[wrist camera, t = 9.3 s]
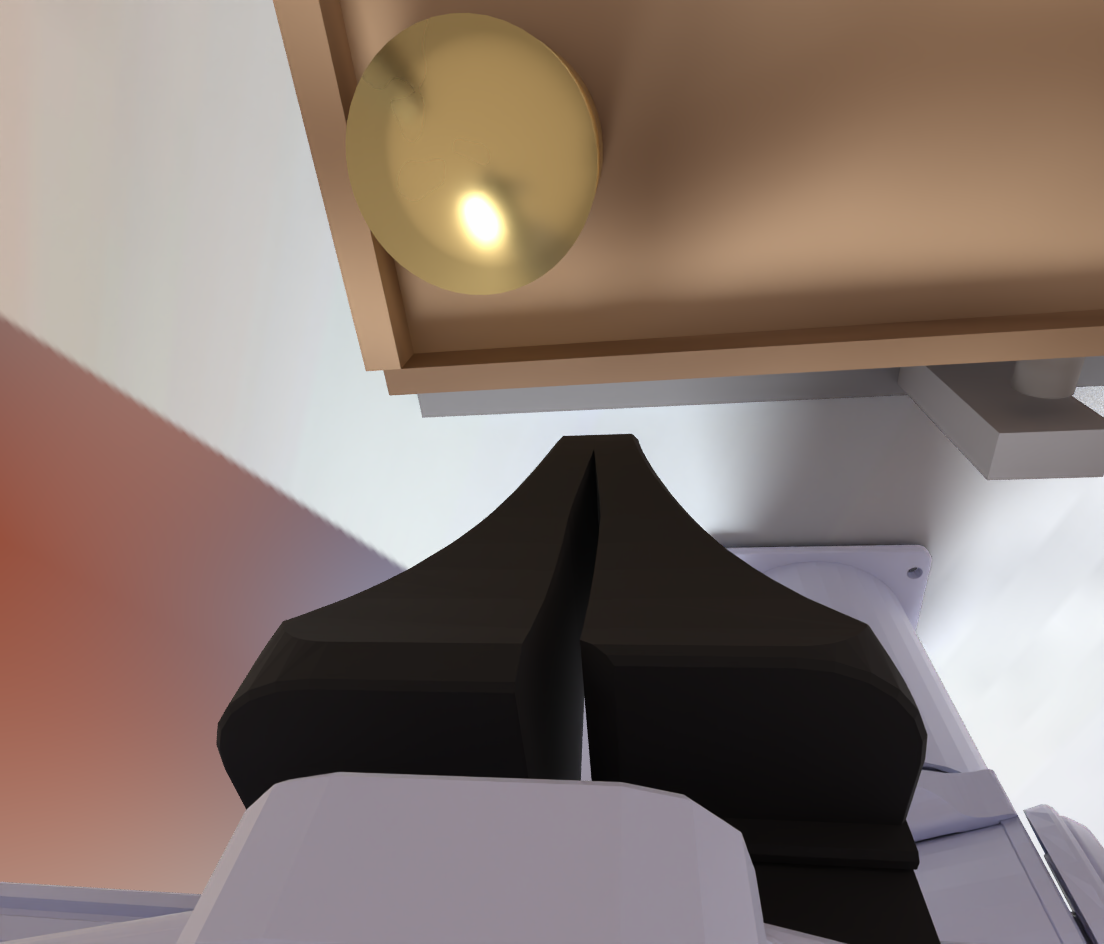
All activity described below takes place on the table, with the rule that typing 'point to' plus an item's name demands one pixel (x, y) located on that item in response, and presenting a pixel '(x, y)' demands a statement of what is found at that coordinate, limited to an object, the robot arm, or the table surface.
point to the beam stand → (939, 390)
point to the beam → (764, 193)
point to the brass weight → (473, 153)
